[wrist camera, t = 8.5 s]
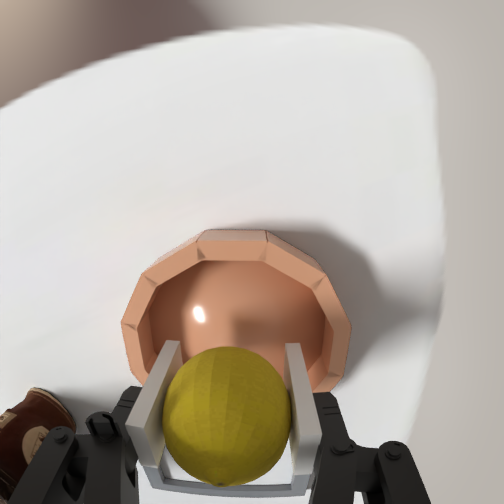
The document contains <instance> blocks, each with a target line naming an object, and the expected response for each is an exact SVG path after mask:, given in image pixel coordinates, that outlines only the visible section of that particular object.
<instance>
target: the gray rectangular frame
mask: <svg viewBox="0 0 504 504" xmlns="http://www.w3.org/2000/svg"><path fill="white" fill-rule="evenodd" d="M143 468H144V470H145V473H146V475H147V477H148V479H149V482H150V484H151V486H152V488H155V489H161V490H167V491H174V492H181V493H189V494H198V495H208V496H222V497H250V498H263V497H291V496H305V492H306V489H307V485H308V482H309V478H310V474H306V475H293V477H292V482H291V484H290V485H235V486H227V487H216V486H213V485H212V484H208V483H198V482H188V481H180V480H173V479H166V478H164V476H163V473H162V470H161V468H160V465H159V467H158V468H152V467H147V466H143Z"/></svg>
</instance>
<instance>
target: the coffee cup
mask: <svg viewBox="0 0 504 504" xmlns="http://www.w3.org/2000/svg"><path fill="white" fill-rule="evenodd" d="M59 426H65V427H68V428H70V429H71V430H72V431H73V432H74V434H75V432H76V425H75V423H74V421H73V419H72V417H71V416H70V414H69V413H68V411H67V410H66V409H65V408H64V407H63V406H62V404H61V403H60V402H59V401H57V400H56V399H55V398H54V397H53V396H52V395H51V394H49V393H48V392H45V391H43V390H41V389H39V388H38V389H36V388H32V389H30V390H29V391H28V393H27V395H26V398H25V399H24V400H23V401H22V402H21V403H19V404H17V405H16V406H15V407H14V408H12V409H7V410H6V411H5V412H4V413H3V414H2V415H1V416H0V504H7V503H8V501H9V499H10V497H11V495H12V494H13V492H14V490H15V488H16V486H17V485H18V483H19V481H20V479H21V477H22V476H23V474H24V472H25V470H26V469H27V467H28V465H29V464H30V462H31V460H32V458H33V457H34V455H35V453H36V452H37V450H38V448H39V447H40V445H41V443H42V442H43V440H44V439H45V437H46V435H47V434H48V432H49V431H50V430H51V429H53V428H55V427H59Z"/></svg>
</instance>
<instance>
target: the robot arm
mask: <svg viewBox="0 0 504 504" xmlns="http://www.w3.org/2000/svg"><path fill="white" fill-rule="evenodd" d="M182 366H183V362H182V355H181V346H180V341H173V340H166V342H165V344H164V346H163V348H162V350H161V352H160V354H159V355H158V357H157V359H156V361H155V363H154V365H153V367H152V369H151V372H150V374H149V376H148V378H147V380H146V382H145V384H144V386H143V387H136V386H130V387H129V388H128V389H127V390H125V391H124V392H123V394H122V396H121V398H120V400H119V401H118V403H117V406H116V407H115V408H114V410H113V412H112V414H111V413H109V412H96V413H94V414H91V415H90V416H89V417H88V418H87V420H86V422H85V423H86V425H87V427H88V429H89V431H90V435H75V434H74V432H73V431H72V430H71V429H70V428H68V427H65V426H59V427H55V428H53V429H51V430H50V431H49V432H48V434H47V435H46V437H45V439H44V440H43V442H42V443H41V445H40V447H39V448H38V450H37V452H36V453H35V455H34V457H33V458H32V460H31V462H30V464H29V465H28V467H27V469H26V470H25V472H24V474H23V476H22V477H21V479H20V481H19V483H18V485H17V486H16V488H15V490H14V492H13V494H12V495H11V497H10V499H9V501H8V503H7V504H83V503H84V504H139V489H138V471H137V468H136V463H137V460H138V459H139V462H140V464H141V466H147V467H152V468H158V467H159V463H160V460H161V457H162V453H163V450H164V447H165V439H164V434H163V428H162V413H163V407H164V401H165V396H166V392H167V389H168V387H169V385H170V383H171V382H172V380H173V378H174V377H175V375H176V373H177V372H178V370H179V369H180V368H181V367H182ZM283 382H284V384H285V387H286V389H287V391H288V394H289V397H290V402H291V429H290V434H289V440H290V449H291V457H292V466H293V475H306V474H312V472H313V469H314V473H315V479H314V482H313V485H312V488H311V490H312V491H311V495H310V500H309V504H353V501H354V491H357V492H362V497H363V501H364V504H431V502H430V499H429V497H428V494H427V492H426V489H425V487H424V484H423V482H422V479H421V477H420V474H419V472H418V469H417V467H416V465H415V462H414V460H413V457H412V455H411V453H410V451H409V449H408V447H407V446H406V445H405V444H403V443H401V442H398V441H388V442H385V443H383V444H382V445H381V446H380V447H379V449H378V448H366V447H361V446H359V445H357V444H356V443H355V442H354V441H353V440H351V439H350V438H349V436H348V433H347V430H346V427H345V424H344V421H343V418H342V415H341V412H340V409H339V406H338V403H337V400H336V398H335V397H334V396H333V395H332V394H331V393H330V392H317V393H312V390H311V386H310V382H309V378H308V374H307V370H306V366H305V362H304V358H303V354H302V350H301V346H300V343H285V357H284V371H283Z"/></svg>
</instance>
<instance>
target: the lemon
mask: <svg viewBox="0 0 504 504" xmlns="http://www.w3.org/2000/svg"><path fill="white" fill-rule="evenodd" d="M162 428H163V434H164V439H165V443H166V446H167V449H168V451H169V453H170V454H171V456H172V457H173V459H174V460H175V462H176V463H177V464H178V465H179V466H180V467H181V468H182V469H183V470H185V471H186V472H187V473H188V474H189V475H191V476H193V477H195V478H196V479H198V480H200V481H203V482H206V483H208V484H212V485H213V486H216V487H227V486H235V485H241V484H245V483H248V482H251V481H253V480H256V479H258V478H259V477H261V476H263V475H264V474H266V473H267V472H268V471H270V470H271V469H272V467H273V466H274V465H275V464H276V463H277V462H278V461H279V459H280V458H281V456H282V454H283V452H284V449H285V447H286V444H287V441H288V438H289V434H290V429H291V402H290V397H289V394H288V391H287V389H286V387H285V384H284V382H283V380H282V377H281V376H280V374H279V373H278V372H277V371H276V369H275V368H274V367H273V366H272V364H271V363H269V362H268V361H267V360H266V359H264V358H263V357H261V356H260V355H259V354H257V353H254V352H252V351H250V350H247V349H244V348H239V347H234V346H221V347H216V348H211V349H207V350H205V351H203V352H201V353H199V354H197V355H195V356H193V357H192V358H191V359H190V360H188V361H187V362H186V363H185V364H184V365H183V366H182V367H181V368H180V369H179V370H178V372H177V373H176V375H175V377H174V378H173V380H172V382H171V383H170V385H169V387H168V389H167V392H166V396H165V401H164V407H163V413H162Z"/></svg>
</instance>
